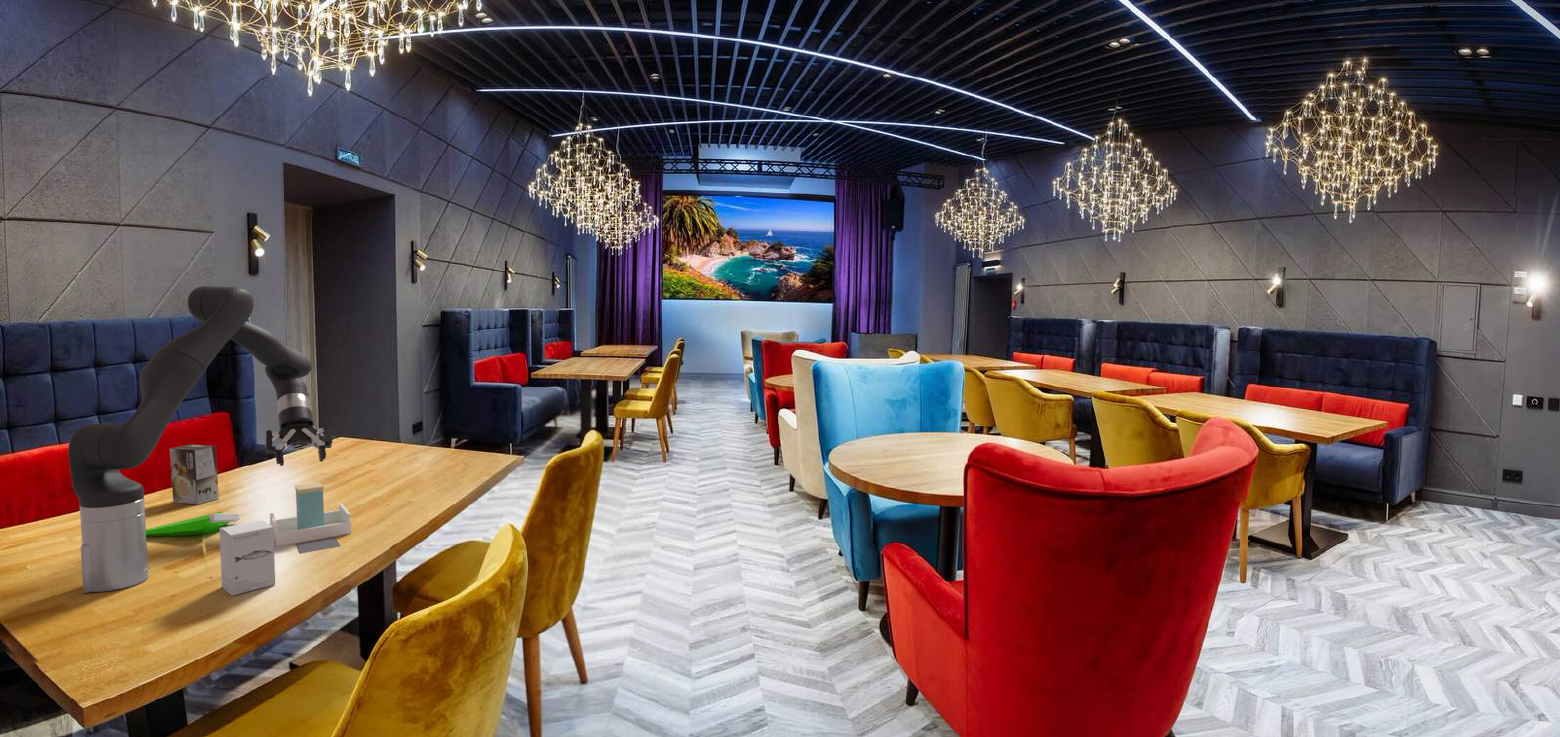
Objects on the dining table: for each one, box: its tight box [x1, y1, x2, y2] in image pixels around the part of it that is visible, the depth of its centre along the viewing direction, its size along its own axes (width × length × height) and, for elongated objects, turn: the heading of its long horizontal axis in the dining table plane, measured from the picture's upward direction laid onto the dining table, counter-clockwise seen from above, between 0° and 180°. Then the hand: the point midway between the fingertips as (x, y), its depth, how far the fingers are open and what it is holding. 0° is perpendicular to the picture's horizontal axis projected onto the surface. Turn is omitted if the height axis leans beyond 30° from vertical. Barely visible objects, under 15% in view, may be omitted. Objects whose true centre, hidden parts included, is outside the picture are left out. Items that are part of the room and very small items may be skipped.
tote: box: [269, 502, 352, 547], centre depth 165 cm, size 15×13×6 cm
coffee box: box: [169, 444, 220, 505], centre depth 190 cm, size 9×6×16 cm
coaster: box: [294, 536, 341, 555], centre depth 157 cm, size 8×8×1 cm
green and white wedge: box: [146, 511, 240, 537], centre depth 163 cm, size 11×5×25 cm
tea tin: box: [294, 482, 325, 530], centre depth 165 cm, size 5×5×12 cm
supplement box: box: [218, 519, 276, 597], centre depth 134 cm, size 7×7×13 cm
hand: (302, 462), depth 172 cm, fingers open, 8 cm apart
